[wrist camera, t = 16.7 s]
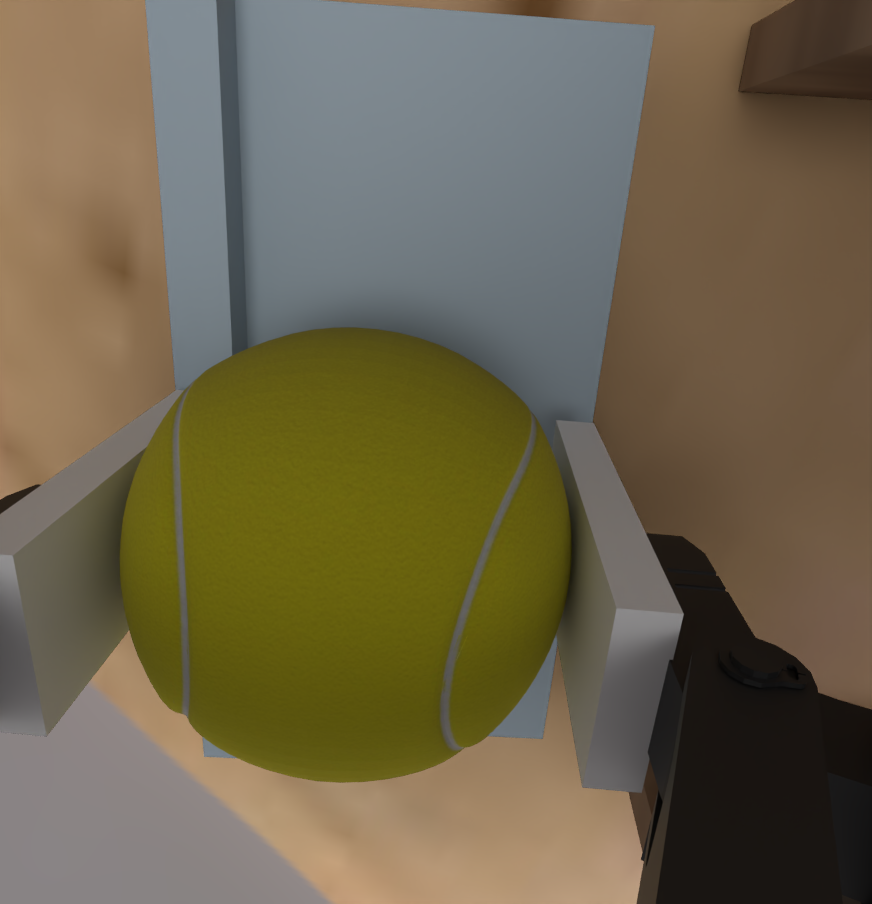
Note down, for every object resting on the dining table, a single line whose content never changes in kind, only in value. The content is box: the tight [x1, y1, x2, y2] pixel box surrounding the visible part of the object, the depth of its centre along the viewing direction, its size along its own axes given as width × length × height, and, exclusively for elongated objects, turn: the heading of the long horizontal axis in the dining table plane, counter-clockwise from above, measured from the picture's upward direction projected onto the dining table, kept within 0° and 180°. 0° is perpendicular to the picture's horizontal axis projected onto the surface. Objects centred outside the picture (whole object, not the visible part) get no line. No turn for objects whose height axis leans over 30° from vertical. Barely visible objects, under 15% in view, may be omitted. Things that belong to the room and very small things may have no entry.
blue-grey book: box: [145, 0, 655, 758], centre depth 16 cm, size 2×17×9 cm
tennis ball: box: [120, 327, 572, 783], centre depth 11 cm, size 7×7×7 cm
